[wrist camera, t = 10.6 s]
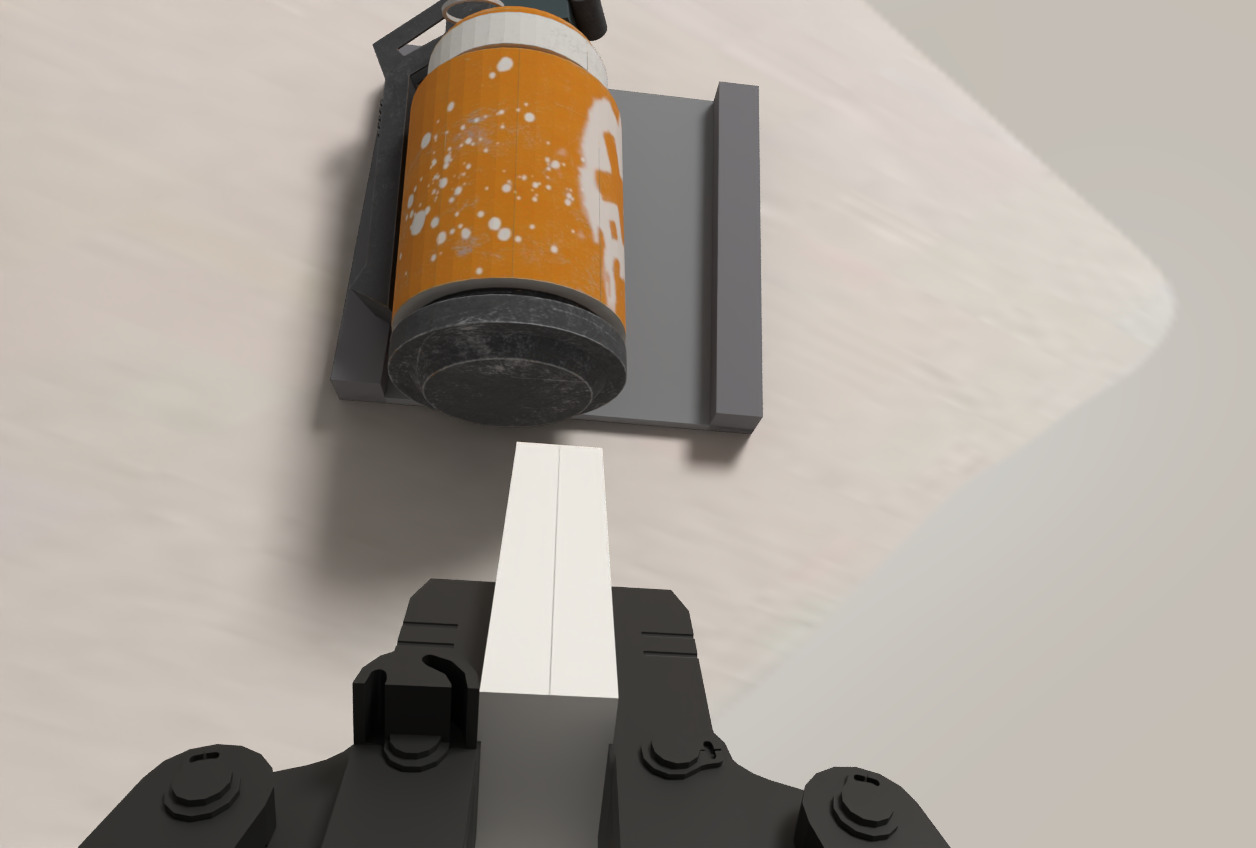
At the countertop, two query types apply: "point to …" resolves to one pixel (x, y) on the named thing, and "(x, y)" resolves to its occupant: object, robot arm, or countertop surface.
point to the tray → (650, 270)
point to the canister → (500, 213)
